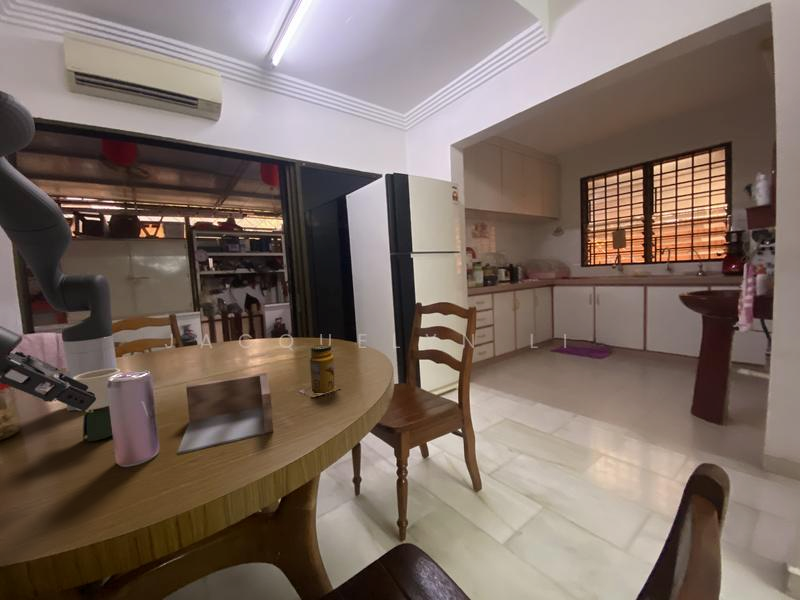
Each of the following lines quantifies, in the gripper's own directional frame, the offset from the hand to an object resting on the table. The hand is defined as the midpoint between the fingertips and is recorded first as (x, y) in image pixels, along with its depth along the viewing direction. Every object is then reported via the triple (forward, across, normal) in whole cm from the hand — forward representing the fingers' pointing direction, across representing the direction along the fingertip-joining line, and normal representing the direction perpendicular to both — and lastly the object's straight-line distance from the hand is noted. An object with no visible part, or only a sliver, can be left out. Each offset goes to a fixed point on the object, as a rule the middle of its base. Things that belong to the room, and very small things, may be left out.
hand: (87, 397), depth 51 cm
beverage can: (+13, 0, +5) cm, 14 cm away
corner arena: (+24, -1, -5) cm, 24 cm away
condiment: (+40, 0, -22) cm, 46 cm away
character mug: (+11, +16, +7) cm, 21 cm away
